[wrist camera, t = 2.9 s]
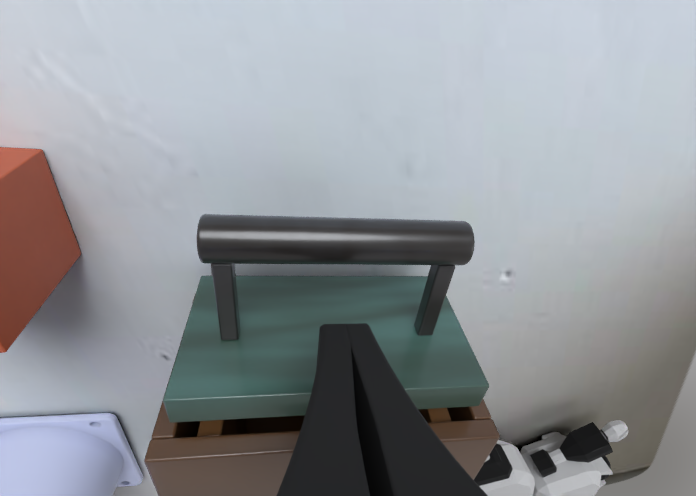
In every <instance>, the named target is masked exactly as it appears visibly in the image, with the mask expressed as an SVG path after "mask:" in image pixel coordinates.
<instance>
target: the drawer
mask: <svg viewBox="0 0 696 496" xmlns="http://www.w3.org/2000/svg"><path fill="white" fill-rule="evenodd" d="M197 249H198V255H199V258H200V261H201V262H203V263H211V270H212V276H201V279H200V282H199V285H198V288H197V292H196V295H195V298H194V301H193V305H192V308H191V311H190V314H189V318H188V321H187V324H186V327H185V331H184V334H183V337H182V340H181V344H180V347H179V350H178V353H177V357H176V360H175V363H174V366H173V370H172V373H171V376H170V379H169V383H168V386H167V389H166V392H165V396H164V399H163V402H164V405H165V408H166V412H167V415H168V418H169V422H171V423H175V422H193V421H200V424H199V429H198V433H197V437H200V436H217V435H234V434H250V433H267V432H284V431H300V430H301V427H302V424H303V420H304V417H305V414H306V410H307V407H308V403H309V400H310V396H311V392H312V388H313V383H314V379H315V374H316V366H317V354H318V342H319V330H320V326H322V325H323V324H357V323H367V324H368V325H369V326H370V328H371V330H372V332H373V334H374V336H375V338H376V340H377V342H378V344H379V346H380V348H381V350H382V352H383V354H384V356H385V357H386V359H387V361H388V363H389V364H390V366H391V368H392V370H393V371H394V373H395V375H396V376H397V378H398V379H399V381H400V383H401V384H402V386H403V387H404V389H405V391H406V392H407V394H408V395H409V397H410V398H411V400H412V401H413V403H414V404H415V406H416V407H417V409H418V410H419V411H420V413H421V414H422V416H423V417H424V419H425V420H426V421H427V423H434V422H450V421H451V418H450V415H449V412H448V410H447V408H452V407H471V406H479V405H480V403H481V401H482V399H483V397H484V395H485V393H486V391H487V389H488V388H489V384H488V382H487V380H486V378H485V376H484V373H483V371H482V369H481V367H480V365H479V363H478V361H477V359H476V357H475V355H474V353H473V351H472V349H471V346H470V344H469V342H468V340H467V338H466V336H465V334H464V332H463V330H462V328H461V326H460V324H459V321H458V319H457V317H456V315H455V313H454V311H453V309H452V307H451V305H450V303H449V301H448V299H447V297H446V293H447V290H448V287H449V284H450V281H451V278H452V275H453V272H454V269H455V265H465V264H467V263H468V262H469V261H470V259H471V257H472V255H473V251H474V234H473V230H472V228H471V226H470V224H469V223H467V222H465V221H440V220H402V219H364V218H326V217H288V216H250V215H212V214H205V215H202V216H201V218H200V220H199V224H198V229H197ZM235 263H238V264H375V265H431V267H430V271H429V274H428V276H236V274H235Z"/></svg>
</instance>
